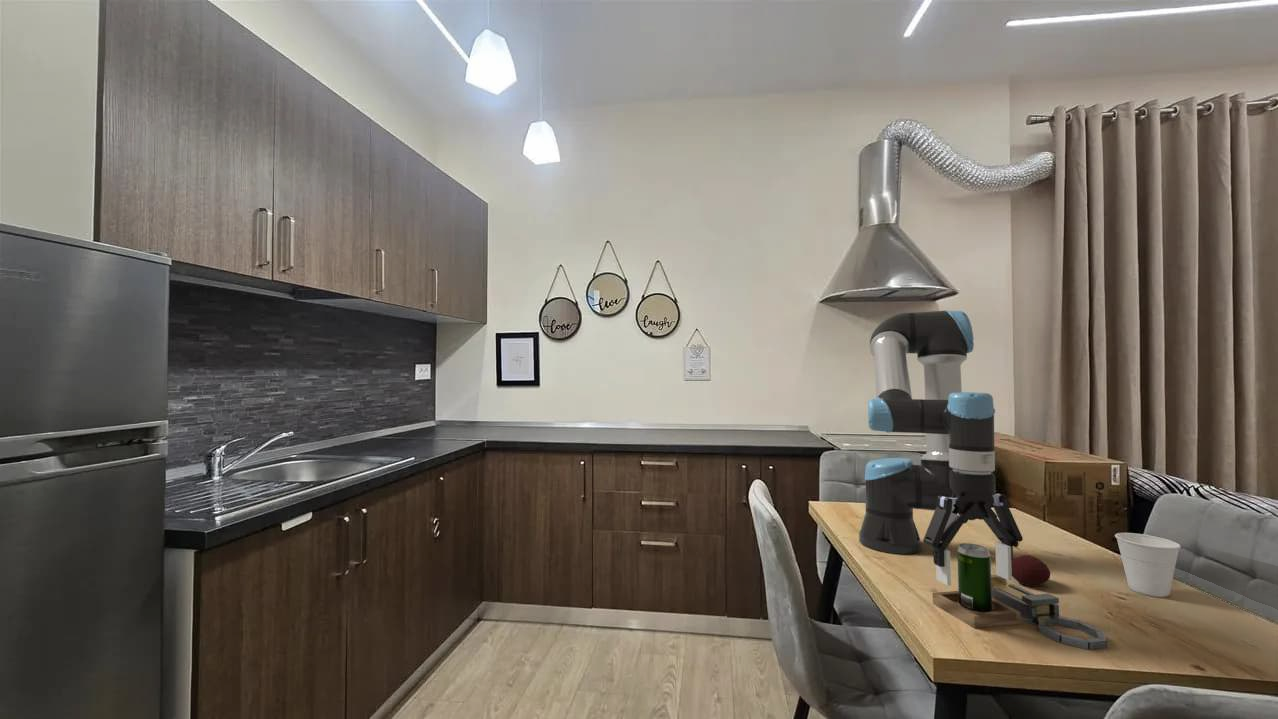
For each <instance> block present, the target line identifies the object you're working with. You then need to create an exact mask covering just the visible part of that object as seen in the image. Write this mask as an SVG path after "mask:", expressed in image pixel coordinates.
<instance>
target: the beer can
mask: <svg viewBox="0 0 1278 719" xmlns="http://www.w3.org/2000/svg"><path fill="white" fill-rule="evenodd" d="M956 552H957V553H956V554H957V578H958V579H957V583H958V584H957V585H958V587H957V589H958V590H957V591H958V594H959V605H960V606H962V607H964V608H965V609H967V610H969V611H971V612H972V613H974V614H975V613H985V612H991V611H992V590H991V575H992V564H991V563H992V558H991V556H992V555H991V554H990V550H989V548H988V547H985V546H983V545H980V544H976V543H967V542H966V543H959V544H958V548H957V550H956Z"/></svg>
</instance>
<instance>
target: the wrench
mask: <svg viewBox="0 0 1278 719" xmlns="http://www.w3.org/2000/svg"><path fill="white" fill-rule="evenodd" d="M1007 586H1009V587H1011V588H1013V589H1015V590H1017V591H1020V592H1022V593H1024V594H1026V596H1022V600H1020V599H1018V598H1016V597H1014V596H1012V595H1010V594H1008V593H1006V592H1004V591H1001V590H999V589H997V588H995V587H993V586H991V590H992V598H993V599H995V600H997V601H999V602H1001V603H1003V604H1005V605H1007V606H1009V607H1011V608H1013V609H1015V610H1017V611H1019V612H1021V620H1024V621H1025V622H1028V623H1030V624H1032V625H1035V624H1037V628H1038V631H1039V633H1040V634H1043V635H1045V636H1047V637H1048V638H1050V639H1052V640H1053V641H1056V642H1058V643H1061V644H1063V645H1067V646H1072V647H1076V648H1080V649H1085V650H1090V651H1092V650H1100V649H1107V648H1108V640H1107V637H1106V635H1105V633H1104V631H1102V630H1101V629H1099V628H1097V627H1094V626H1093V625H1090V624H1089V623H1085V621H1080V620H1078V619H1073V618H1068V617H1064V616H1060V606H1059V603H1060V601H1059V600H1060V598H1059V597H1058V596H1055V595H1053V594H1051V593H1041V594H1035V593H1033V592H1031V591H1028V590H1027V589H1025V588H1024V589H1023V588H1022V587H1019V586H1017V585H1015V584H1013V583H1011V584H1008V585H1007ZM1037 605H1049V615H1050V616H1042V617H1038V620H1037V607H1035V606H1037ZM1058 625H1059V626H1063V627H1065V628H1066V627H1067V628H1072V629H1076V630H1079V631H1081V632H1084V633H1086V634H1087V635H1089V636H1092V637H1093V638H1081V637H1076V636H1072V635H1068V634H1064V633H1061V632H1059V631H1057V630H1055V629H1053V628H1052V627H1050V626H1058Z"/></svg>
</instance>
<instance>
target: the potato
mask: <svg viewBox="0 0 1278 719" xmlns="http://www.w3.org/2000/svg"><path fill="white" fill-rule="evenodd" d="M1011 571H1012V579H1014V580H1016V581H1017V582H1019V583H1020V584H1023V585H1026V586H1030V587H1035V586H1036V587H1037V586H1038V587H1039V586H1041V585H1045V584H1046V583H1047V582H1048V581H1050V580H1049V579H1050V578H1051V571H1050V569H1049V567H1048V565H1046V564H1045V562H1043V561H1042V560H1041V559H1039V557H1035V556H1034V555H1031V554H1022V555H1018V556H1014V557H1013V561H1011Z"/></svg>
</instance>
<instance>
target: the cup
mask: <svg viewBox="0 0 1278 719" xmlns="http://www.w3.org/2000/svg"><path fill="white" fill-rule="evenodd" d="M1114 537H1115V538H1116V541H1117V544H1118V548H1119V553H1120V556H1121V561H1122V565H1123V569H1124V572H1125V577H1126V581H1127V585H1128V586H1127V587H1129V588H1130V589H1131V590H1132V591H1133V592H1137V593H1138V594H1141V595H1145V596H1149V597H1154V598H1166V597H1168V596H1170V594H1171V588H1172V582H1173V578H1174V576H1175V569H1176V565H1177V560H1178V559H1177V558H1178V556H1179V551H1180V549H1181V547H1182V546H1181V544H1179V543H1178V542H1175V541H1174V540H1170V539H1167V538H1163V537H1159V536H1154V535H1148V534H1142V533H1134V532H1118V533H1115V534H1114Z"/></svg>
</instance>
